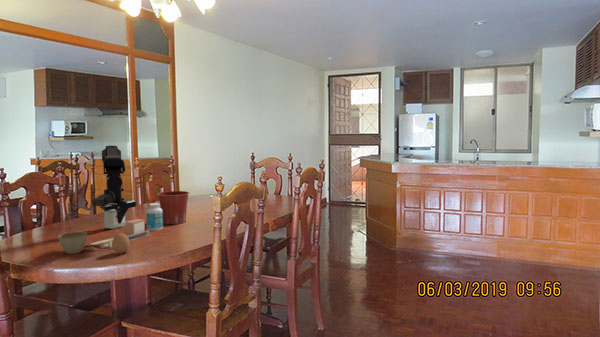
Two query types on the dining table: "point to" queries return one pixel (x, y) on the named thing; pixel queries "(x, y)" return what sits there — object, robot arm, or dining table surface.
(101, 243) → the shelf
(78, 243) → the bowl
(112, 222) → the pale green block
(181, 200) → the flower pot
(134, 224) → the carton
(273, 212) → the dining table surface
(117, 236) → the egg
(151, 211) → the pill bottle
